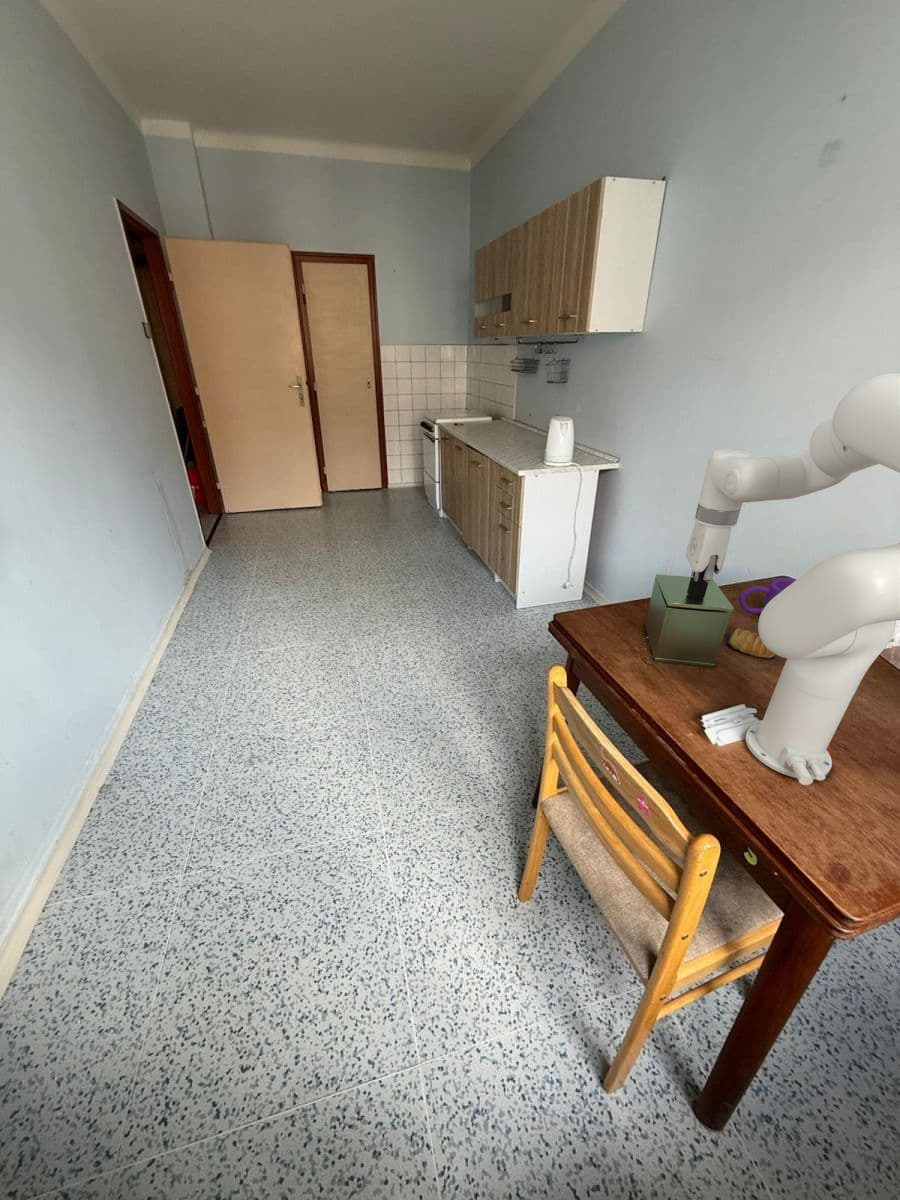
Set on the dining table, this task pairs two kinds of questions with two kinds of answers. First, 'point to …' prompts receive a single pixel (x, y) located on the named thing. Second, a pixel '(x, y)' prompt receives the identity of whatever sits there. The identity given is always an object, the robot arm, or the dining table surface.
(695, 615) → the trash bin
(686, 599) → the bin lid
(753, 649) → the pastry
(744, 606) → the mug
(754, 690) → the dining table surface
